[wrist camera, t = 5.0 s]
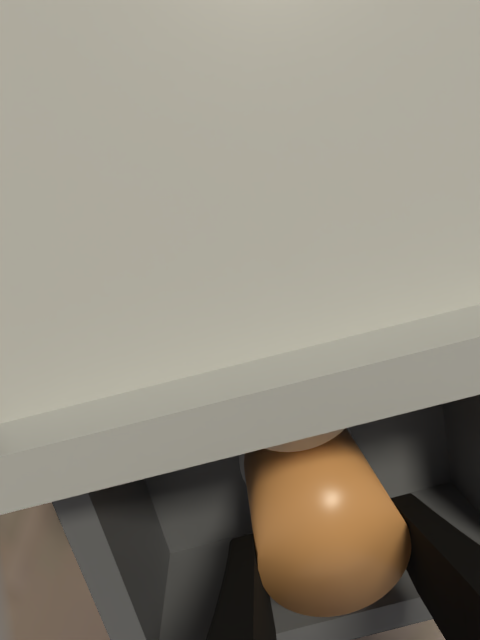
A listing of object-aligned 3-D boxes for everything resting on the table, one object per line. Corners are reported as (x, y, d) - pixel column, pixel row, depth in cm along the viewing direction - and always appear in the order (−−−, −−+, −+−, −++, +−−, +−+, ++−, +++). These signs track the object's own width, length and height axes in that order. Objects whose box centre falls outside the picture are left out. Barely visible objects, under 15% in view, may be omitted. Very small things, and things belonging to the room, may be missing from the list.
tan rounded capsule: (350, 505, 15) (400, 611, 11) (242, 510, 14) (255, 621, 10) (360, 408, 13) (421, 488, 10) (244, 411, 13) (260, 496, 9)
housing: (469, 488, 17) (563, 585, 12) (155, 567, 17) (134, 695, 12) (434, 149, 13) (547, 112, 9) (38, 247, 13) (-52, 260, 9)
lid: (564, 321, 10) (660, 349, 8) (24, 456, 10) (-29, 522, 8) (542, -483, 6) (707, -835, 4) (-298, -287, 6) (-560, -548, 4)
